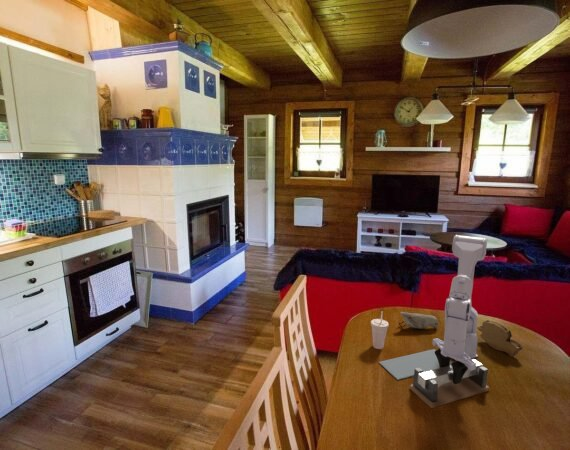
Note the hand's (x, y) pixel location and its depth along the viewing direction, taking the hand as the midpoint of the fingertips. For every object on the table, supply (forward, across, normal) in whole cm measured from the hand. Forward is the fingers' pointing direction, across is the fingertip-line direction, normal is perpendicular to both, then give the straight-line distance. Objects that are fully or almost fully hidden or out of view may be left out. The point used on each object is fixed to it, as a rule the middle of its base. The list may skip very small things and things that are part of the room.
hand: (450, 378), depth 105 cm
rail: (0, 0, 0) cm, 0 cm away
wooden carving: (+4, -12, +35) cm, 37 cm away
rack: (+4, 0, 0) cm, 4 cm away
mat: (+4, -14, 0) cm, 15 cm away
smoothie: (+4, -28, -6) cm, 29 cm away
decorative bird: (+4, -34, +18) cm, 39 cm away
